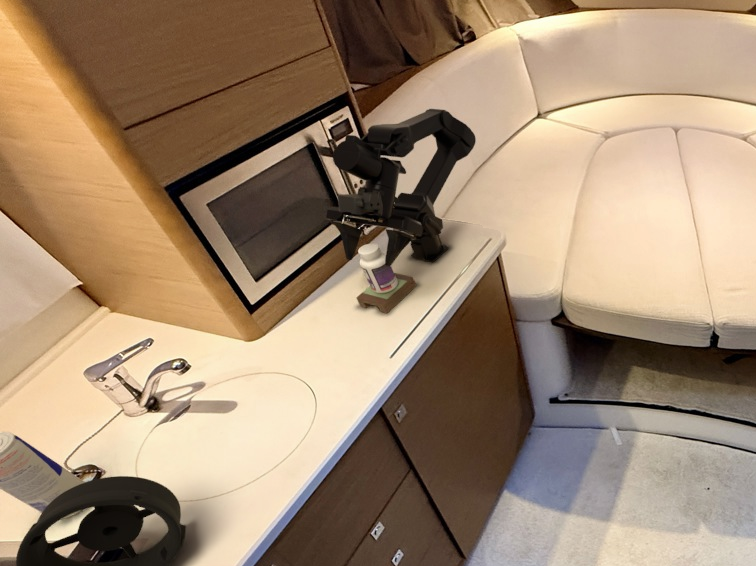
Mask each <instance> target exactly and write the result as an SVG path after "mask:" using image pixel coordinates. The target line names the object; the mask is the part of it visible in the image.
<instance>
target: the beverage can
mask: <svg viewBox="0 0 756 566" xmlns="http://www.w3.org/2000/svg"><path fill="white" fill-rule="evenodd" d="M85 482H86V481H84V480H83V479H81V478H79V477H78V476H77V475H75V474H74V473H73V472H71V471H70V470H68V469H66V468H65V467H63V466H62V465H60V464H59V463H57V462H56V461H54V459H52V458H50V457H49V456H47V455H46V454H44V453H43V452H41V451H40V450H38V449H37V448H36V447H34V446H33V445H31V444H30V443H28V442H26V441H25V440H23V439H22V438H21V437H19V436H18V435H16V434H14V433H12V432H11V431H6V430H5V431H0V490H2V491H3V492H5V493H6V494H9V495H10V496H12V497H13V498H15V499H17V500H18V501H20V502H22V503H24V504H26V505H27V506H29V507H31V508H33V509H34V510H36V511H38V512H39V513H41V514H42V512H43V511H44V509H45V508H46V507H47V506H48V505H49V504H50V503H51V502H52V501H53V500H54V499H55V498H56V497H58V496H59V495H61V494H62V493H64V492H65V491H67V490H69V489H71V488H73V487H75V486H77V485H80V484H82V483H85ZM81 511H82V510H80V511H77V512H74V513H72V514H70V515H68V516H66V517H64V518H63V519H67V518H69V517H71V516H73V515H76V514H77V513H79V512H81Z"/></svg>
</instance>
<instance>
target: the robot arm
mask: <svg viewBox="0 0 756 566" xmlns="http://www.w3.org/2000/svg"><path fill="white" fill-rule="evenodd" d="M429 136H432V137H434V139H435V144H436V151H435V153H434V155H433V156H432V158H431V159H430V162H429V163H428V165H427V166H426V168H425V170H424V172H423V173H422V175H421V177H420V179H419V181H418V182H417V184H416V186H415V188H414V189H413V191H412V192H411V193H407V192H400V193H399V194H398V195H397V196H396V194H397V187H398V181H399V176H400V174H401V175H407V170H406V168H405V167H404V166H403V164H402V162H401V160H398V159H391V158H392V157H393V158H401V159H403V158H405V157H407V156H408V155H409V154H410V153H411V152H412V151H414V149H415V144H417V143H418V142H419V141H421V140H424V139H426V138H427V137H429ZM476 140H477V139H476V134H475V133H474V132H473V130H472V129H471V127H470V126H468V125H467V124H466V123H464V122H463V121H461V120H460V119H457V117H455V116H453V115H452V114H451V112H449V111H447V110H446V109H439V108H428V109H426V110H425V111H424V112H421V113H419V114H416V115H414V116H412V117H410V118H408V119H405V120H403V121H401V122H398V123H382V124H374V125H371V126H369V127H368V129H367V133H366V134H365V135H363V136H362V137H359V136H356V135H353V134H346V135H345V139H344V140H343V141H341V142H340V143H338V144H337V146H336V147H335V149H333V151H332V161H333V164H334V165H335V167H336V168H338V169H339V170H341V171H342V172H343V171H344V172H345V173H348V174H350V175H352V176H354V177H355V178H358V179H360V180H362V181H365V183H364V186H363V187H362V186H359V188H358V189H357V193H347V194H346V193H345V194H337V202H338V206H330V207H329V208H327V209H326V214H325V220H328V221H330V224H331V225H333V226H335V227H336V229H337V230H338V232H339V235H340V238H341V241H342V246H343V250H344V255H345V259H346V260H348V261H352V260H353V258H354V256H355V254H356V251H357V248H358V246H359V245H358V244H359V243H360V242H359V241H360V239H361V237H362V233H363V229H361V228H360V227H361V226H363V225H366V226H373V227H379V228H386V229H385V232H386V235H387V240H388V241H387V246H386V252H385V255H386V259H385V265H386V266H391V267H392V264H394V262H395V260H396V259H397V258H398V257H399V255H400V254H401V253H402V252H403V251H404V249H405V248H406V247H407V246H408V245H410V247H411V250H412V253H411V254H410V257H411V258H413V259H416V260H420V261H426V262H431V263H433V262H436V260H437V259H439V258H440V257H441V256H442V255H443V254H444V253H445V252H447V250H448V249H449V246H448V245H444V244H443V242H442V239H441V236H440V235H441V234H442V230H443V229H444V222H443V218H440V217H438V216H436V213H435V208H434V204H435V203H436V201H437V199H438V197H439V195H440V193H441V191H442V190H443V188H444V186H445V184H446V182H447V180H448V178H449V176H450V175H451V173H452V171H453V169H454V168H455V165H456V164H457V162H458V161H461V160H462V159H464V158H467V157H468V156H469V155H470V153H471V152H472V151H473V149H474V147H475V145H476V143H477V141H476ZM388 157H391V158H388Z"/></svg>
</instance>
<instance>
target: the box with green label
mask: <svg viewBox="0 0 756 566" xmlns="http://www.w3.org/2000/svg"><path fill="white" fill-rule="evenodd" d="M394 274H395V276H396V279H397V281H398V284H397V286H396V288H395V289H393V290H392V291H389V292H386V293H376V292H374V291H373V290H372V288H371V286H370V285H369V286H368V287H367V288H366V289H364V290H363V291H362V292H361V293H360V294H359V295H358V296H357V297H355V298H356V301H357V303H358V304H359V306H360V308H361V307H362V308H364V309H367V308H368V307H369V306H374V307H378V308H379V311H380V313H384V314H388V313H389V312H390V311H392V310H393V308H395V307H396V306H397V305H398V304H399V303H400V302H401V301H402V300H403V299H404V298H405V297H406V296H407V295H409V293H410V292H412V291H413V290H414V289H415V288H416V287H417V284H416V282H415V279H414V277H413V276H409V275H405V274H402V273H396V272H394Z"/></svg>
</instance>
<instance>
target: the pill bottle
mask: <svg viewBox="0 0 756 566" xmlns="http://www.w3.org/2000/svg"><path fill="white" fill-rule="evenodd" d="M357 252H358V255H359V257H360V259H359V265H360V268H361V270H362V272H363V274H364V276H365V279H366V280H367V282H368V285H369V286H371V288H372V290H373V291H374V292H376V293H386V292H389V291H392V290H393V289H395V288H396V286H397V284H398V281H397V279H396V276H395V274H394V273H395V271H394V270H393V268H392V267H393V266H392V265H391V266H386V265H385V259H386V253H384V252H382V251H381V248H380V246H379V245H378V244H377V243H366V244H363V245H362V246H360V247H359V248H358V249H357Z"/></svg>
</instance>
